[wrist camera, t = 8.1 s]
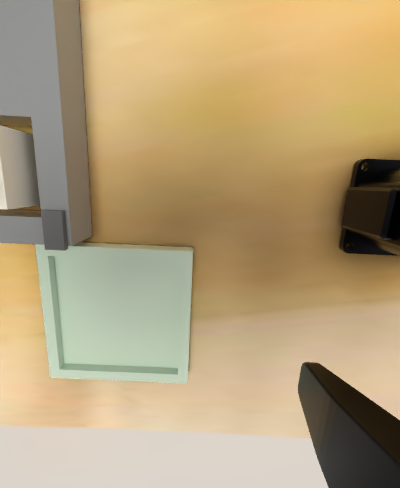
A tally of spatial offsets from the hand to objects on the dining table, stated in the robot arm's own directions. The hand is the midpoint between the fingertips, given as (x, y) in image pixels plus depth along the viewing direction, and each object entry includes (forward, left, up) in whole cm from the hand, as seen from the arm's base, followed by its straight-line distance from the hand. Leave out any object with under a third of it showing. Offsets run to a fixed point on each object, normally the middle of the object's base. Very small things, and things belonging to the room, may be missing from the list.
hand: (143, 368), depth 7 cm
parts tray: (+4, +5, -12) cm, 14 cm away
